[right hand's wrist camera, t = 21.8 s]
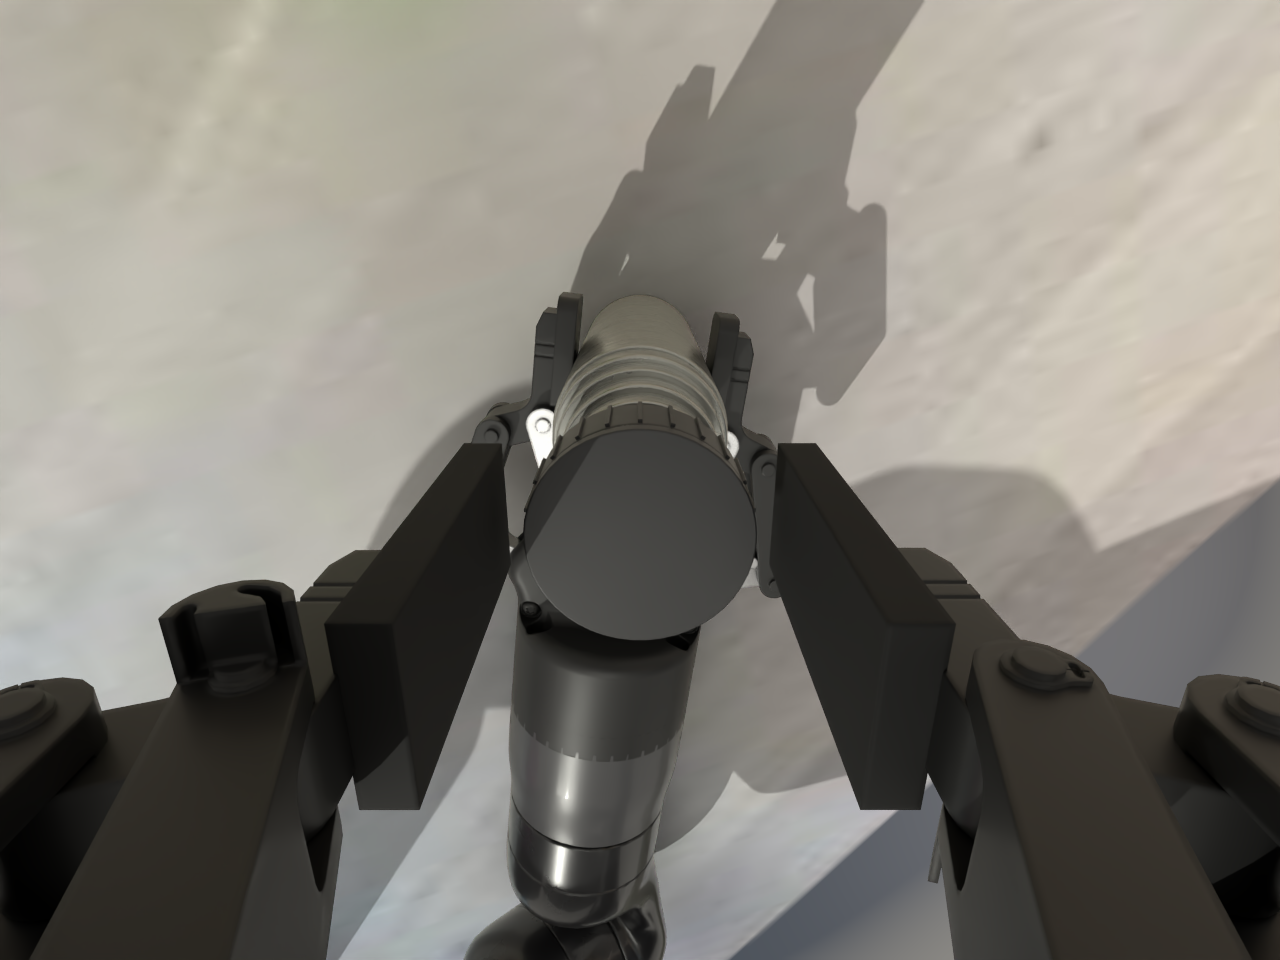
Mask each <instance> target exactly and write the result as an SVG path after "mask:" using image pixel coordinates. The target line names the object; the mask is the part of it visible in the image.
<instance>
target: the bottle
mask: <svg viewBox="0 0 1280 960" xmlns="http://www.w3.org/2000/svg"><path fill="white" fill-rule="evenodd" d="M638 401H642V404H649V405H657V406H663V407H667V408H668V405H671V406H673V409H675V410H677V411H680V412H682V413H685V414H687V415H689V416H691V417H693V418H696V417H699V418H700V420H701V423H703V424H704V425H705V426H707V427H708V428H709V429H711V430H712V431H713V432H714V433H715V434H716V435H717V436H719V435H721V436H722V437H723V439H724V442H725V445H726V447H727V444H728V430H727V416H726V410H725V407H724V404H723V401H722V398H721V396H720V394H719V392H718V389H717V387H716V385H715V383H714V380H713V378H712V376H711V374H710V372H709V369H708V367H707V365H706V363H705V361H704V358H703V356H702V354H701V352H700V350H699V347H698V345H697V343H696V341H695V339H694V336H693V334H692V332H691V330H690V328H689V325H688V323H687V322H686V320H685V319H684V317H683V316H682V315H681V313H680V312H679V311H678V310H677V309H676V308H674V307H673V306H672V305H670V304H669V303H667V302H666V301H664V300H662V299H659V298H656V297H652V296H647V295H632V296H628V297H624V298H621V299H618V300H616V301H614V302H612V303H611V304H609V305H608V306H607V307H605V308H604V309H603V310H602V311H601V312H600V313H599V314H598V316H597V317H596V318H595V320H594V321H593V323H592V325H591V327H590V329H589V332H588V334H587V336H586V338H585V341H584V343H583V345H582V347H581V349H580V352H579V354H578V356H577V358H576V361H575V363H574V365H573V367H572V369H571V372H570V374H569V376H568V378H567V381H566V383H565V385H564V387H563V389H562V392H561V394H560V396H559V398H558V401H557V404H556V407H555V411H554V417H553V431H552V444H553V447H554V445H555V443H556V440H557V437H558V436H559V435H562V436H563V435H564V434H565V433H566V432H567V431H568V430H570V429H571V428H572V427H574V426H575V425H576V424H578V423H579V420H580V418H581V417H583V416H584V418H585V419H586V418H587V417H589V416H591V415H593V414H596V413H598V412H600V411H603V410H606V409H607V407H608V406H609V405H612V407H617V406H623V405H631V404H638Z"/></svg>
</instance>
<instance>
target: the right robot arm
mask: <svg viewBox="0 0 1280 960" xmlns="http://www.w3.org/2000/svg"><path fill="white" fill-rule="evenodd" d="M510 565H511V558H510V545H509V531H508V518H507V505H506V492H505V478H504V465H503V452H502V443H464V444H463V445H462V447H461V448H460V449H459V451H458V452H457V453H456V454H455V456H454V457H453V458H452V460H451V461H450V462H449V463H448V465H447V466H446V467H445V469H444V470H443V471H442V472H441V474H440V475H439V476H438V478H437V479H436V480H435V481H434V483H433V484H432V485H431V487H430V488H429V489H428V490H427V492H426V493H425V494H424V496H423V497H422V498H421V499H420V501H419V502H418V503H417V505H416V506H415V507H414V508H413V510H412V511H411V512H410V514H409V515H408V516H407V517H406V519H405V520H404V521H403V523H402V524H401V525H400V526H399V528H398V529H397V530H396V532H395V533H394V534H393V535H392V537H391V538H390V539H389V541H388V542H387V543H386V544H385V546H384V547H383V548H382V550H355V551H353V552H352V553H350V554H348V555H346V556H345V557H343V558H341V559H339V560H338V561H336V562H334V563H332V564H331V565H329V566H328V567H327V568H326V570H325V571H324V572H323V573H322V574H321V575H320V576H319V577H318V579H317V580H316V581H315V582H314V585H313V587H309V589H308V590H307V591H306V592H305V593H304V594H303V595H302V596H301V598H300V602H296V600H295V595H294V590H292V589H291V588H290V587H288V586H287V585H285V584H284V583H281V582H275V581H270V580H245V581H238V582H233V583H228V584H223V585H218V586H215V587H212V588H209V589H206V590H204V591H201V592H198V593H195V594H192V595H190V596H189V597H187V598H185V599H183V600H181V601H180V602H178V603H176V604H174V605H172V606H171V607H170V608H169V609H168V610H167V611H166V612H165V613H164V614H163V615H162V616H161V617H160V618H159V619H158V620H159V623H160V626H161V630H162V633H163V637H164V640H165V644H166V647H167V651H168V654H169V657H170V661H171V664H172V668H173V671H174V675H175V678H176V682H177V684H176V686H175V688H174V690H173V692H172V694H171V696H170V697H169V698H165V699H161V700H156V701H151V702H146V703H141V704H136V705H130V706H125V707H120V708H115V709H110V710H105V711H101V708H100V705H99V702H98V699H97V696H96V693H95V690H94V687H92V686H91V685H90V684H88V683H87V682H85V681H84V680H81V679H72V678H63V677H62V678H54V679H47V680H34V681H30V682H25V683H22V684H21V685H20V686H18V684H17V685H14V686H11V687H8V688H5V689H2V690H0V960H326V955H327V947H328V940H329V933H330V925H331V918H332V911H333V903H334V896H335V888H336V881H337V874H338V866H339V859H340V852H341V844H342V837H343V834H342V826H341V820H340V815H339V810H338V803H339V801H340V799H341V797H342V795H343V793H344V791H345V789H346V787H347V786H348V784H349V782H350V780H351V778H352V776H353V779H354V784H355V789H356V795H357V800H358V805H359V810H420V807H421V805H422V802H423V799H424V797H425V794H426V791H427V788H428V786H429V783H430V780H431V778H432V775H433V772H434V770H435V767H436V764H437V762H438V759H439V756H440V754H441V751H442V748H443V745H444V743H445V740H446V737H447V735H448V732H449V729H450V727H451V724H452V721H453V719H454V716H455V713H456V711H457V708H458V705H459V702H460V700H461V697H462V694H463V692H464V689H465V686H466V684H467V681H468V678H469V676H470V673H471V670H472V668H473V665H474V662H475V659H476V657H477V654H478V651H479V649H480V646H481V643H482V641H483V638H484V635H485V633H486V630H487V627H488V625H489V622H490V619H491V616H492V614H493V611H494V608H495V606H496V603H497V600H498V598H499V595H500V592H501V590H502V587H503V584H504V582H505V579H506V576H507V573H508V571H509V568H510ZM769 565H770V568H771V571H772V573H773V576H774V579H775V582H776V584H777V587H778V590H779V592H780V595H781V598H782V600H783V603H784V606H785V608H786V611H787V614H788V616H789V619H790V622H791V625H792V627H793V630H794V633H795V635H796V638H797V641H798V643H799V646H800V649H801V651H802V654H803V657H804V659H805V662H806V665H807V668H808V670H809V673H810V676H811V678H812V681H813V684H814V686H815V689H816V692H817V694H818V697H819V700H820V702H821V705H822V708H823V711H824V713H825V716H826V719H827V721H828V724H829V727H830V729H831V732H832V735H833V737H834V740H835V743H836V745H837V748H838V751H839V754H840V756H841V759H842V762H843V764H844V767H845V770H846V772H847V775H848V778H849V780H850V783H851V786H852V788H853V791H854V794H855V797H856V799H857V802H858V805H859V807H860V810H921V805H922V800H923V795H924V789H925V784H926V779H927V774H929V776H930V778H931V780H932V782H933V784H934V786H935V788H936V790H937V792H938V794H939V795H940V797H941V799H942V801H943V805H942V810H941V815H940V820H939V825H938V829H937V834H936V839H935V844H934V849H933V854H932V859H931V863H930V870H929V876H928V881H929V882H934V883H938V879H939V874H940V870H941V868H942V872H943V879H944V887H945V894H946V901H947V909H948V916H949V923H950V931H951V938H952V946H953V953H954V960H1280V686H1277V685H1274V684H1271V683H1268V682H1265V681H1264V682H1260V680H1257V679H1253V678H1248V677H1237V676H1229V675H1221V674H1216V675H1206V676H1198V677H1197V678H1195V679H1194V680H1193V681H1191V682H1190V683H1188V684H1187V687H1186V690H1185V693H1184V696H1183V699H1182V702H1181V705H1180V708H1177V707H1172V706H1167V705H1161V704H1156V703H1151V702H1146V701H1140V700H1135V699H1130V698H1124V697H1120V696H1116V695H1112V694H1109V692H1108V691H1107V689H1106V687H1105V685H1104V683H1103V682H1102V681H1101V679H1100V678H1099V677H1098V676H1097V675H1096V674H1095V672H1094V671H1093V670H1092V669H1091V668H1090V667H1088V666H1087V665H1085V664H1084V663H1082V662H1081V661H1079V660H1078V659H1076V658H1075V657H1073V656H1072V655H1069V654H1067V653H1064V652H1062V651H1060V650H1057V649H1055V648H1052V647H1050V646H1048V645H1043V644H1039V643H1035V642H1030V641H1026V640H1020V639H1019V638H1018V637H1017V636H1016V634H1015V633H1014V632H1013V631H1012V630H1011V629H1010V628H1009V627H1008V626H1007V624H1006V623H1005V622H1004V621H1003V620H1002V619H1001V618H1000V617H999V616H998V614H997V613H996V612H995V611H994V610H993V609H992V608H991V607H990V606H989V604H988V603H987V602H986V601H985V600H984V599H980V594H979V593H978V592H977V591H976V590H975V589H974V588H973V587H972V586H971V584H967V580H966V579H965V578H964V577H963V576H962V574H961V573H960V572H959V571H958V570H957V569H956V568H955V567H954V566H953V564H952V563H950V562H949V561H947V560H945V559H943V558H942V557H940V556H938V555H936V554H935V553H933V552H931V551H929V550H928V549H926V548H897V547H896V546H895V544H894V543H893V542H892V541H891V539H890V538H889V537H888V535H887V534H886V533H885V532H884V530H883V529H882V528H881V526H880V525H879V524H878V523H877V521H876V520H875V519H874V517H873V516H872V515H871V514H870V512H869V511H868V510H867V508H866V507H865V506H864V505H863V503H862V502H861V501H860V499H859V498H858V497H857V496H856V494H855V493H854V492H853V490H852V489H851V488H850V487H849V485H848V484H847V483H846V481H845V480H844V479H843V478H842V476H841V475H840V474H839V472H838V471H837V470H836V469H835V467H834V466H833V465H832V463H831V462H830V461H829V460H828V458H827V457H826V456H825V455H824V453H823V452H822V451H821V449H820V448H819V447H818V446H817V444H816V443H778V452H777V465H776V478H775V491H774V505H773V518H772V531H771V545H770V558H769Z"/></svg>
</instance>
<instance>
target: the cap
mask: <svg viewBox="0 0 1280 960" xmlns="http://www.w3.org/2000/svg"><path fill="white" fill-rule="evenodd" d="M533 484H534V486H533V488H532V491H531V494H530V496H529V499H528V501H527V504H526V506H525V509H524V512H526V514H525V519H524V529H523V539H524V549H525V554H526V559H527V562H528V565H529V568H530V571H531V573H532V575H533V577H534V579H535V581H536V583H537V585H538V587H539V588H540V589H541V591H542V592H543V594H544V595H545V596H546V598H547V599H548V600H549V601H550V602H551V603H552V604H553V605H554V606H555V607H556V608H557V609H558V610H559V611H560V612H562V613H563V614H564V615H565V616H566V617H568V618H569V619H571V620H572V621H574V622H576V623H577V624H579V625H581V626H583V627H585V628H587V629H589V630H591V631H594V632H597V633H599V634H602V635H605V636H610V637H614V638H618V639H627V640H653V639H662V638H666V637H671V636H675V635H678V634H681V633H684V632H687V631H689V630H691V629H693V628H695V627H698V626H700V625H702V624H703V623H705V622H706V621H708V620H709V619H711V618H713V617H714V616H715V615H716V614H718V613H719V612H720V611H721V610H722V609H724V608H725V607H726V606H727V604H728V603H729V602H730V601H731V600H732V599H733V598H734V597H735V595H736V594H737V593H738V591H739V590H740V588H741V587H742V585H743V584H744V582H745V580H746V578H747V576H748V574H749V571H750V569H751V566H752V563H753V560H754V556H755V551H756V544H757V525H756V517H755V513H754V512H756V508H755V505H754V503H753V500H752V498H751V495H750V493H749V490H748V488H747V485H746V484H748V483H747V480H746V478H745V476H744V473H743V471H742V468H741V466H740V463H739V461H738V459H737V458H735V459H734V458H733V456H732V454H731V453H730V451H729V449H728V448H727V447H726V445H725V442H724V439H723V437H722V436H721V435H719V436H717V435H716V434H715V433H714V432H713V431H712V430H711V429H709V428H708V427H707V426H705V425H704V424H703V423H701V420H700V418H699V417H696V418H693V417H691V416H689V415H687V414H685V413H682V412H680V411H677V410H675V409H673V406H671V405H668V408H667V407H663V406H657V405H649V404H642V401H638V404H631V405H623V406H617V407H612V405H609V406H608V407H607V409H606V410H603V411H600V412H598V413H596V414H593V415H591V416H589V417H587V418H586V419H585V418H584V416H583V417H581V418H580V420H579V423H578V424H576V425H575V426H574V427H572V428H571V429H570V430H568V431H567V432H566V433H565V434H564V435H563V436H562V435H559V436H558V437H557V440H556V443H555V445H554V447H553V448H552V450H551V451H550V453H549V455H548V457H547V458H543V459H542V461H541V464H540V466H539V469H538V471H537V474H536V476H535V479H534V481H533Z"/></svg>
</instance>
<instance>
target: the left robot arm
mask: <svg viewBox="0 0 1280 960" xmlns="http://www.w3.org/2000/svg"><path fill="white" fill-rule="evenodd" d="M582 305H583V294H575V293H568V292H563V293H562V294H561V295H560V296H559V299H558V306H557V308H551V307H548V308H547V309H546V310H545V311H544V312H543V314H542V316H541V318H540V320H539V322H538V324H537V326H536V337H535V352H534V354H535V355H534V367H533V381H532V394H531V397H530V398H528V399H527V400H524V401H521V402H517V403H512V404H509V403H504V402H502V403H498V404H495V405H494V406H493V407H492V408H491V409H490V411H489V412H488V414H487V416H486V418H485V419H483V420H482V421H481V422H480V423H479V425H478V426H477V428H476V430H475V433H474V436H473V439H472V443H502V452H503V465H504V466H505V463H506V460H507V457H508V454H509V451H510V448H511V445H516V444H520V443H525V442H529V441H530V442H531V445H532V448H533V452H534V455H535V459H536V462H537V465H538V469H539V466H540V464H541V461H542V459H543V458H547V457H548V455H549V453H550V451H551V450H552V448H553V444H552V431H553V417H554V411H555V407H556V404H557V401H558V398H559V396H560V394H561V392H562V389H563V387H564V385H565V383H566V381H567V378H568V376H569V374H570V372H571V369H572V367H573V365H574V363H575V361H576V358H577V356H578V349H579V338H580V327H581V316H582ZM739 326H740V321H739V319H738V318H737V317H736V316H735V315H734V314H728V313H720V312H715V313H714V317H713V321H712V327H711V333H710V340H709V346H708V352H707V358H706V365H707V367H708V369H709V372H710V374H711V376H712V378H713V380H714V383H715V385H716V387H717V389H718V392H719V394H720V396H721V398H722V401H723V404H724V407H725V410H726V416H727V430H728V444H727V448H728V449H729V451H730V453H731V454H732V456H733V458H734V459H735V458H737V459H738V461H739V463H740V466H741V468H742V471H744V476H745V478H746V480H747V483H748V484H746V485H747V488H748V490H749V493H750V495H751V498H752V500H753V503H754V505H755V508H756V512H754V513H755V517H756V525H757V544H756V551H755V556H754V560H753V563H752V566H751V569H750V571H749V574H748V576H747V578H746V580H745V582H744V584H743V585H742V587H741V588H749V587H758V586H759V587H760V590H761V592H762V593H763V594H764V595H765V596H767V597H770V598H779V597H781V595H780V592H779V590H778V587H777V584H776V582H775V579H774V576H773V573H772V571H771V568H770V565H769V558H770V545H771V531H772V518H773V505H774V491H775V478H776V465H777V450H776V448H775V447H774V445H773V443H772V442H771V440H770V439H769V438H768V437H767V436H765V435H763V434H756V433H754V432H752V431H750V430H748V429H746V428H745V427H743V426H742V422H741V421H742V415H743V409H744V404H745V398H746V393H747V388H748V381H749V377H750V370H751V366H752V360H753V355H754V353H753V348H752V343H751V339H750V338H749V337H748V336H747V334H746V333H744V332H739ZM509 545H510V558H511V565H510V568H509V571H508V574H509V577H510V579H511V581H512V582H513V584H514V586H515V588H516V591H517V595H518V614H517V628H516V642H515V656H514V671H513V685H512V700H511V714H510V728H509V761H510V769H511V793H510V807H509V820H508V836H507V867H508V874H509V878H510V882H511V885H512V887H513V890H514V892H515V894H516V896H517V897H518V899H519V900H520V902H521V903H520V904H519V905H517V906H516V907H515V908H513V909H512V910H510V911H509V912H507V913H506V914H504V915H503V916H501V917H500V918H498V919H497V920H496V921H494V922H493V923H491V924H490V925H489V926H487V927H486V928H485V929H484V930H483V931H482V932H480V933H479V934H478V935H477V936H476V937H475V938H474V940H473V941H472V943H471V944H470V946H469V948H468V949H467V951H466V954H465V957H464V960H662V959H663V956H664V953H665V948H666V941H667V933H666V926H665V920H664V915H663V910H662V904H661V899H660V891H659V884H658V879H657V874H656V867H655V861H654V850H655V846H656V840H657V835H658V829H659V823H660V818H661V812H662V807H663V801H664V797H665V793H666V791H667V788H668V786H669V783H670V780H671V777H672V774H673V771H674V768H675V764H676V760H677V755H678V749H679V744H680V739H681V733H682V728H683V722H684V717H685V711H686V706H687V700H688V694H689V688H690V683H691V678H692V672H693V667H694V661H695V656H696V650H697V645H698V640H699V634H700V629H701V625H700V626H698V627H695V628H693V629H691V630H689V631H687V632H684V633H681V634H678V635H675V636H671V637H666V638H662V639H653V640H627V639H618V638H614V637H610V636H605V635H602V634H599V633H597V632H594V631H591V630H589V629H587V628H585V627H583V626H581V625H579V624H577V623H576V622H574V621H572V620H571V619H569V618H568V617H566V616H565V615H564V614H563V613H562V612H560V611H559V610H558V609H557V608H556V607H555V606H554V605H553V604H552V603H551V602H550V601H549V600H548V599H547V598H546V596H545V595H544V594H543V592H542V591H541V589H540V588H539V587H538V585H537V583H536V581H535V579H534V577H533V575H532V573H531V571H530V568H529V565H528V562H527V559H526V554H525V549H524V539H523V533H522V534H521V535H520V536H519V537H518V538H517V537H515V536H513V535H512V534H511V533H510V532H509Z"/></svg>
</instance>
